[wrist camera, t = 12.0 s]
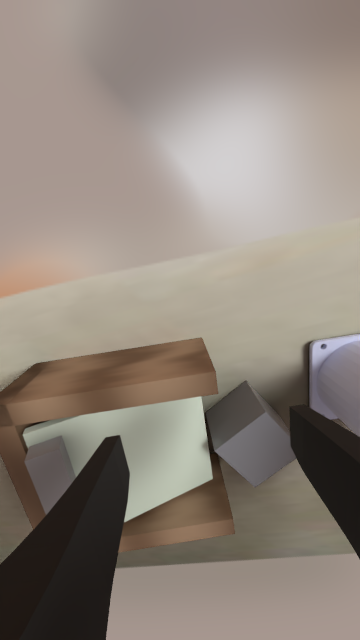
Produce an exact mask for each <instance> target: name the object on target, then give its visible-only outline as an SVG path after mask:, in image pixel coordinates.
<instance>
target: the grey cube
mask: <svg viewBox="0 0 360 640" xmlns="http://www.w3.org/2000/svg"><path fill="white" fill-rule="evenodd" d="M206 417H207V421H208V426H209V430H210V434H211V438H212V443H213V447H214V451H215V452H216V453H217V454H218V455H219V456H221V457H222V458H223V459H224V460H225V461H226V462H227V463H228V464H229V465H231V466H232V467H233V468H234V469H235V470H236V471H237V472H238V473H239V474H241V475H242V476H243V477H244V478H245V479H246V480H247V481H248V482H249V483H251V484H252V485H253V486H254V487H256V486H258V485H259V484H261V483H262V482H263V481H265V480H266V479H268V478H269V477H270V476H272V475H273V474H275V473H276V472H278V471H279V470H280V469H282V468H283V467H285V466H286V465H287V464H289V463H290V462H292V461H293V460H294V459H296V456H295V454H294V452H293V450H292V448H291V446H290V431H289V429H288V428H287V426H286V425H285V423H284V422H283V420H282V419H281V418H280V416H279V415H278V414H277V413H276V411H275V410H274V409H273V408H272V407H271V406H270V405H269V404H268V403H267V402H266V401H265V400H264V399H263V398H262V397H261V396H260V395H259V393H258V392H257V391H256V390H255V389H254V388H253V387H252V386H251V385H250V384H249V383H248V382H247V381H244V382H243V383H242V384H241V385H239V386H238V387H237V388H236V389H234V390H233V391H232V392H231V393H229V394H228V395H227V396H226V397H224V398H223V399H222V400H221V401H219V402H218V403H217V404H216V405H214V406H213V407H212V408H211V409H209V410H208V411H207V412H206Z"/></svg>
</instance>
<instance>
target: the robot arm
mask: <svg viewBox="0 0 360 640" xmlns="http://www.w3.org/2000/svg"><path fill="white" fill-rule="evenodd" d="M322 344H324V345H323V347H321V345H322ZM338 418H339V419H340V420H341V421H342V422H343V423H344V424H345V425H346V426H348V427H349V428H350V429H351V430H352V431H353V432H354V433H355V434H356V435H355V434H354V433H352V432H350V431H348V430H347V429H345V428H343V427H341V426H340V425H338V424H336V423H335V422H333V421H331V420H332V419H338ZM290 446H291V448H292V450H293V452H294V454H295V456H296V458H297V460H298V462H299V464H300V466H301V468H302V470H303V471H304V473H305V475H306V476H307V478H308V479H309V481H310V482H311V484H312V485H313V487H314V488H315V490H316V492H317V493H318V495H319V496H320V498H321V499H322V501H323V502H324V504H325V505H326V507H327V508H328V510H329V511H330V513H331V514H332V516H333V517H334V519H335V520H336V522H337V523H338V525H339V526H340V528H341V529H342V531H343V532H344V534H345V535H346V537H347V539H348V540H349V542H350V543H351V545H352V547H353V548H354V550H355V552H356V553H357V555H358V557H359V559H360V334H354V335H348V336H341V337H335V338H328V339H322V340H316V341H313V342H312V343H311V344H310V408H309V407H308V406H306V405H304V404H303V405H297V406H291V407H290ZM129 480H130V471H129V467H128V464H127V460H126V456H125V452H124V448H123V445H122V441H121V437H120V435H116V436H110V437H105V439H104V440H103V441H102V443H101V444H100V445H99V447H98V448H97V449H96V451H95V452H94V454H93V455H92V456H91V458H90V459H89V461H88V462H87V463H86V465H85V466H84V467H83V469H82V470H81V472H80V473H79V474H78V476H77V477H76V478H75V480H74V481H73V482H72V484H71V485H70V486H69V487H68V489H67V490H66V491H65V493H64V494H63V495H62V496H61V497H60V499H59V500H58V501H57V502H56V504H55V505H54V506H53V507H52V509H51V510H50V511H49V512H48V513H47V515H46V516H45V517H44V518H43V519H42V521H41V522H40V523H39V524H38V525H37V526H36V527H35V528H34V530H33V531H32V532H31V533H30V534H29V535H28V536H27V537H26V538H25V539H24V540H23V542H22V543H21V544H20V545H19V546H18V547H17V548H16V549H15V550H14V551H13V552H12V553H11V554H10V555H9V556H8V557H7V558H6V559H5V560H4V561H3V562H2V563H1V564H0V640H106V631H107V623H108V614H109V606H110V598H111V591H112V584H113V578H114V572H115V567H116V562H117V556H118V551H119V546H120V540H121V535H122V530H123V525H124V519H125V514H126V508H127V503H128V493H129Z"/></svg>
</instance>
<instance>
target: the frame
mask: <svg viewBox="0 0 360 640" xmlns="http://www.w3.org/2000/svg"><path fill="white" fill-rule="evenodd" d="M213 394H218V388H217V380H216V371H215V369H214V367H213V364H212V362H211V359H210V357H209V354H208V352H207V349H206V347H205V344H204V342H203V339H202V338H196V339H189V340H183V341H177V342H170V343H164V344H157V345H151V346H145V347H138V348H132V349H125V350H119V351H113V352H106V353H100V354H93V355H87V356H81V357H74V358H68V359H61V360H55V361H48V362H42V363H36V364H34V365H33V366H32V367H31V368H30V369H28V370H27V371H26V372H25V373H23V374H22V375H21V376H20V377H19V378H17V379H16V380H15V381H14V382H12V383H11V384H10V385H9V386H7V387H6V388H5V389H4V390H3V391H1V392H0V454H1V457H2V459H3V461H4V464H5V466H6V468H7V470H8V473H9V475H10V477H11V480H12V482H13V484H14V486H15V489H16V491H17V493H18V496H19V498H20V500H21V502H22V505H23V507H24V509H25V512H26V514H27V516H28V518H29V521H30V523H31V525H32V528H33V530H34V528H35V527H36V526H37V525H38V524H39V523H40V522H41V521H42V519H43V518H44V517H45V516H46V514H45V511H44V509H43V506H42V504H41V501H40V499H39V496H38V494H37V492H36V489H35V487H34V484H33V482H32V479H31V477H30V474H29V472H28V470H27V467H26V465H25V462H24V461H25V458H26V455H27V452H28V447H27V445H26V442H25V440H24V437H23V432H24V430H25V428H28V427H31V426H34V425H37V424H40V423H43V422H47V421H50V420H54V419H61V418H67V417H73V416H80V415H86V414H92V413H99V412H105V411H111V410H118V409H124V408H130V407H137V406H143V405H149V404H156V403H162V402H168V401H175V400H181V399H187V398H194V397H200V396H207V395H213ZM210 461H211V468H212V475H213V479H211V480H209V481H207V482H205V483H203V484H201V485H199V486H197V487H195V488H193V489H191V490H189V491H187V492H185V493H183V494H181V495H179V496H177V497H175V498H173V499H171V500H169V501H167V502H165V503H163V504H161V505H159V506H157V507H155V508H152V509H150V510H148V511H146V512H144V513H142V514H140V515H138V516H136V517H134V518H132V519H130V520H128V521H126V522H124V525H123V530H122V535H121V540H120V546H119V551H118V552H124V551H131V550H137V549H143V548H149V547H155V546H162V545H168V544H174V543H180V542H186V541H193V540H199V539H205V538H211V537H217V536H224V535H230V534H235V531H234V523H233V517H232V513H231V509H230V504H229V500H228V496H227V492H226V488H225V484H224V480H223V476H222V472H221V468H220V464H219V460H218V455H217V453H212V454H210Z"/></svg>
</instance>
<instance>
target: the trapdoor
mask: <svg viewBox="0 0 360 640" xmlns="http://www.w3.org/2000/svg"><path fill="white" fill-rule="evenodd" d="M116 435H120V437H121V441H122V445H123V448H124V452H125V456H126V460H127V464H128V467H129V471H130V480H129V493H128V503H127V508H126V514H125V519H124V522H126V521H128V520H130V519H132V518H134V517H136V516H138V515H140V514H142V513H144V512H146V511H148V510H150V509H152V508H155V507H157V506H159V505H161V504H163V503H165V502H167V501H169V500H171V499H173V498H175V497H177V496H179V495H181V494H183V493H185V492H187V491H189V490H191V489H193V488H195V487H197V486H199V485H201V484H203V483H205V482H207V481H209V480H211V479H213V475H212V468H211V461H210V454H209V447H208V440H207V433H206V426H205V419H204V412H203V405H202V398H201V396H200V397H194V398H187V399H181V400H175V401H168V402H162V403H156V404H149V405H143V406H137V407H130V408H124V409H118V410H111V411H105V412H99V413H92V414H86V415H80V416H73V417H67V418H61V419H54V420H50V421H47V422H43V423H40V424H37V425H34V426H31V427H28V428H25V430H24V432H23V437H24V440H25V442H26V445H27V447H28V452H27V455H26V458H25V461H24V462H25V465H26V467H27V470H28V472H29V474H30V477H31V479H32V482H33V484H34V487H35V489H36V492H37V494H38V496H39V499H40V501H41V504H42V506H43V509H44V511H45V514H46V515H47V513H48V512H49V511H50V510H51V509H52V507H53V506H54V505H55V504H56V502H57V501H58V500H59V499H60V497H61V496H62V495H63V494H64V493H65V491H66V490H67V489H68V487H69V486H70V485H71V484H72V482H73V481H74V480H75V478H76V477H77V476H78V474H79V473H80V472H81V470H82V469H83V467H84V466H85V465H86V463H87V462H88V461H89V459H90V458H91V456H92V455H93V454H94V452H95V451H96V449H97V448H98V447H99V445H100V444H101V443H102V441H103V440H104V439H105V437H110V436H116Z"/></svg>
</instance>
